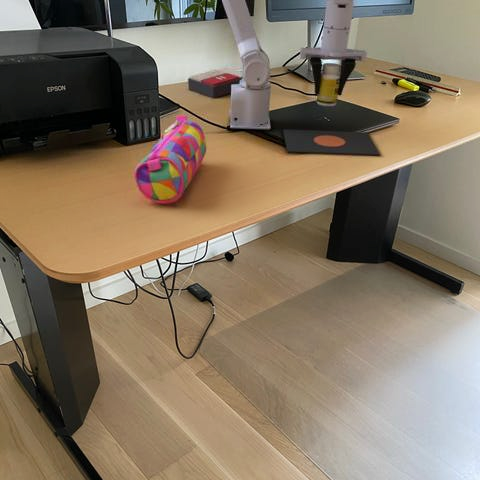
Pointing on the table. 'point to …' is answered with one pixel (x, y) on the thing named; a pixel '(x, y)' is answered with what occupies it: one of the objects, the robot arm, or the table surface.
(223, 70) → the red and black box
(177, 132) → the pencil case
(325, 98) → the supplement bottle
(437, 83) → the table surface
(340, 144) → the desk mat
